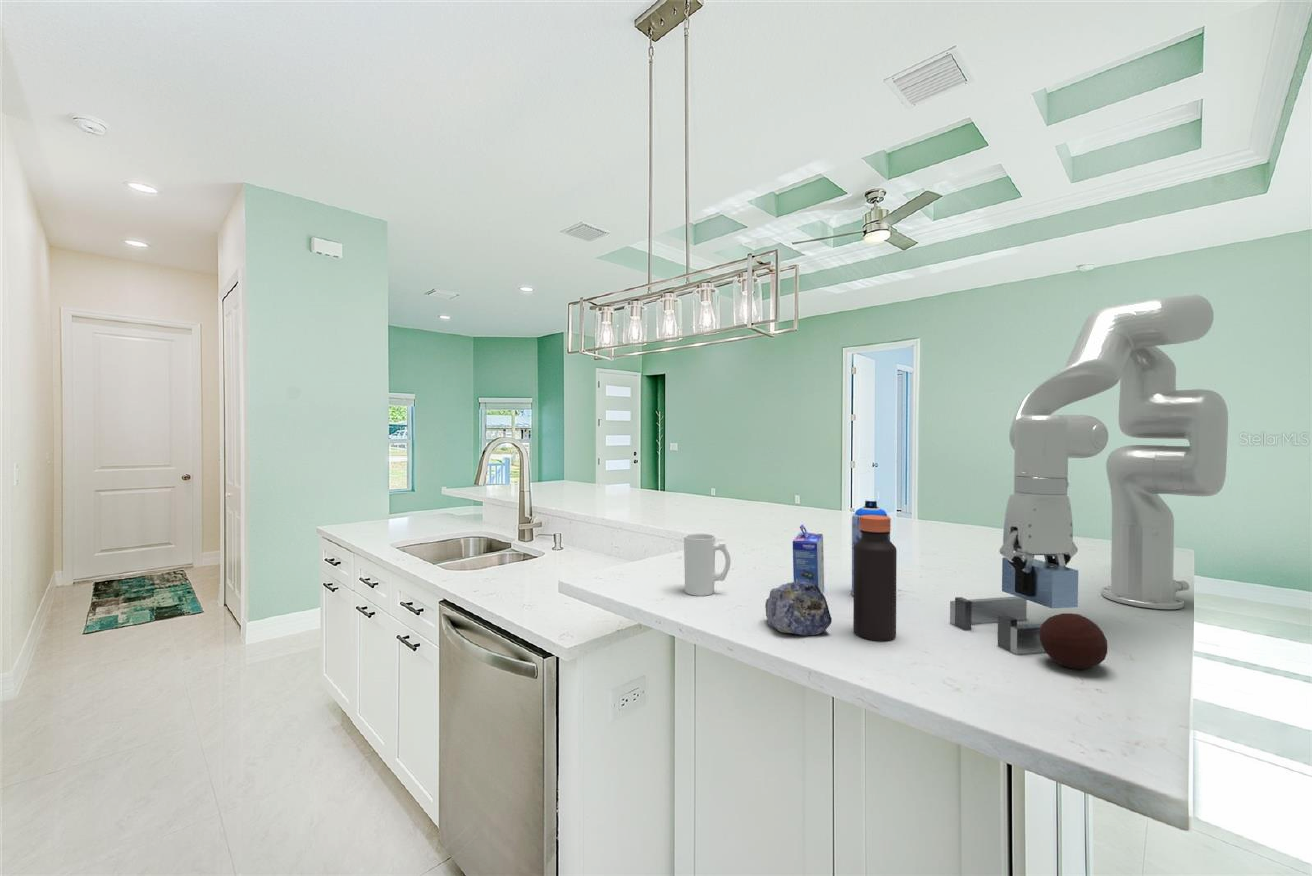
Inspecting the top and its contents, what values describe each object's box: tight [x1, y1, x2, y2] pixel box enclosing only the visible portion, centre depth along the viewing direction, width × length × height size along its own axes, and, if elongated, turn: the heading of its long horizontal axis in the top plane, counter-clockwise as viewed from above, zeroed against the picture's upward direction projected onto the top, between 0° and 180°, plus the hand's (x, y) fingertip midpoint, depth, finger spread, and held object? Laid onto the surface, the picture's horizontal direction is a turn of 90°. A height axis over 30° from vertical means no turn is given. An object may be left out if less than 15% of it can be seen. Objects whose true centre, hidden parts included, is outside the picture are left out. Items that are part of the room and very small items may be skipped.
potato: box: [1039, 612, 1108, 670], centre depth 81 cm, size 8×9×8 cm
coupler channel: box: [949, 596, 1098, 656], centre depth 94 cm, size 15×14×5 cm
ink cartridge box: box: [792, 524, 825, 594], centre depth 118 cm, size 10×6×14 cm, turn 157°
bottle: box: [852, 515, 898, 642], centre depth 94 cm, size 7×7×20 cm
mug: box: [683, 533, 732, 597], centre depth 119 cm, size 10×7×12 cm, turn 72°
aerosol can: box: [850, 500, 891, 598], centre depth 116 cm, size 8×8×20 cm
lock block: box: [1001, 556, 1079, 609], centre depth 95 cm, size 5×10×6 cm, turn 11°
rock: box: [764, 581, 833, 637], centre depth 98 cm, size 11×10×10 cm
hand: (1038, 592), depth 95 cm, fingers closed on lock block, 5 cm apart
